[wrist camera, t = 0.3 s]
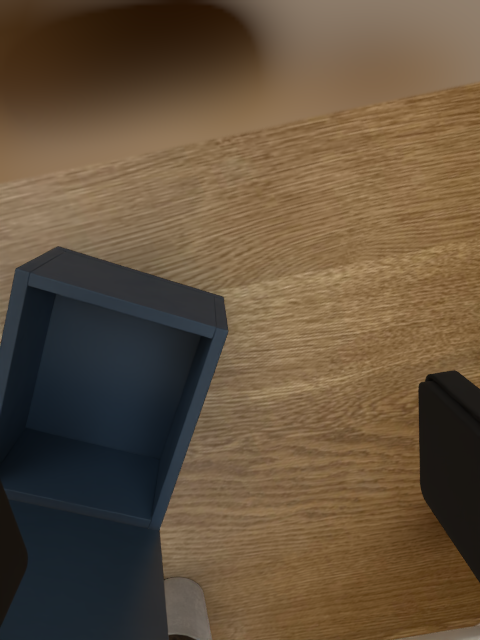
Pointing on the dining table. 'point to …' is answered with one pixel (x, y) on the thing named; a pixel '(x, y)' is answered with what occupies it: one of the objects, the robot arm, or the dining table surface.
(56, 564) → the lid
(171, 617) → the house plant
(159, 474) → the file box
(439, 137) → the dining table surface
